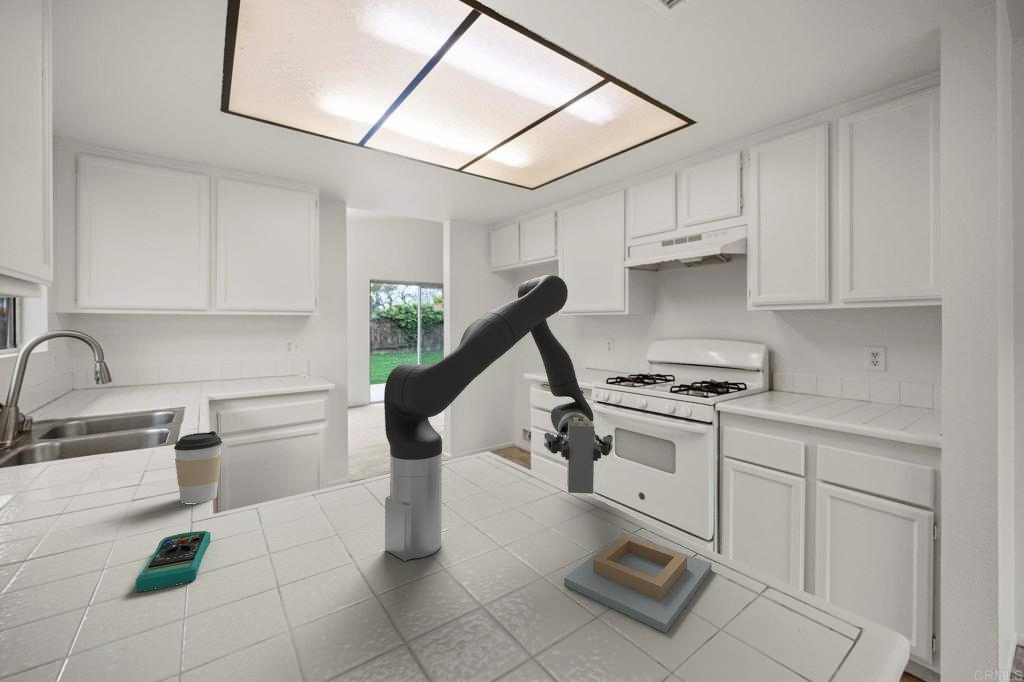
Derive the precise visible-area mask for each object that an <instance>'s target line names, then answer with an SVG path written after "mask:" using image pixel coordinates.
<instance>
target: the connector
mask: <svg viewBox="0 0 1024 682" xmlns="http://www.w3.org/2000/svg"><path fill="white" fill-rule="evenodd" d="M593 422H594V421H593ZM593 422H592V421H588V418H584V421H578V418H576V417H574V421H569V420H568V445H569V448H570V453H569V460H567V466H566V467H567V469H566V472H567V473H566V475H567V476H566V477H567V478H566V485H567V493H569V494H570V493H571V494H590V495H592V494H593V495H594V468H595V466H594V465H595V463H594V462H595V461H594V431H595V425H594V423H593Z"/></svg>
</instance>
